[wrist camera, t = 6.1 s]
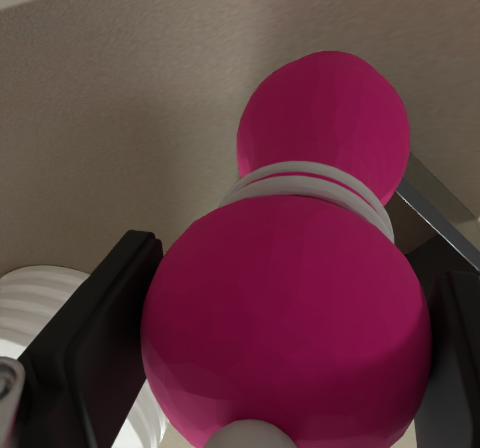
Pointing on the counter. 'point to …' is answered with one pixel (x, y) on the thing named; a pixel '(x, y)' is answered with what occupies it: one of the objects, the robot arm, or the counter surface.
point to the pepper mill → (296, 278)
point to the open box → (439, 226)
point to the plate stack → (35, 319)
